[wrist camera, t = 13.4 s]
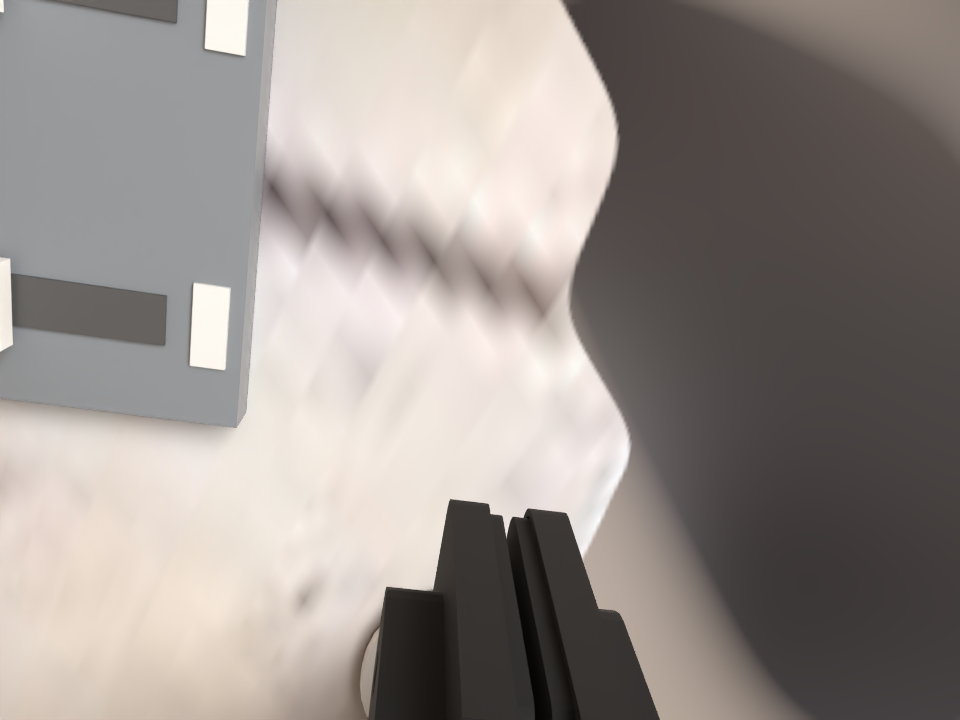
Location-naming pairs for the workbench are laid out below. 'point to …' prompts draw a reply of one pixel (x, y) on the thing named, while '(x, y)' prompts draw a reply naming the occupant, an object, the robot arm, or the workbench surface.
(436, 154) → the workbench surface
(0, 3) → the breaker handle
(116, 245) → the breaker panel
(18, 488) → the workbench surface
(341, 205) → the workbench surface
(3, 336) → the breaker handle
